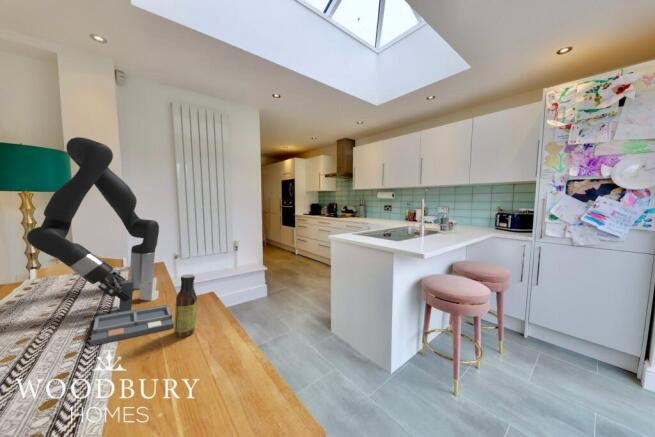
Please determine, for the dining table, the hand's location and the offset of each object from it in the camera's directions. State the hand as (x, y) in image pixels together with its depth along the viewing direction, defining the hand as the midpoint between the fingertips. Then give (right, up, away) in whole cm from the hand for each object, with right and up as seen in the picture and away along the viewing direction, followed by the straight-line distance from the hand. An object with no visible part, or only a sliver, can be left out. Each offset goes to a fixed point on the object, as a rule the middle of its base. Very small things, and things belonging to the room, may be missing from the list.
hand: (130, 295), depth 91 cm
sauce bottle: (+29, -9, -12) cm, 32 cm away
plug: (-2, -5, 0) cm, 5 cm away
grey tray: (+10, -7, -10) cm, 16 cm away
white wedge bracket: (-1, -5, +11) cm, 12 cm away
